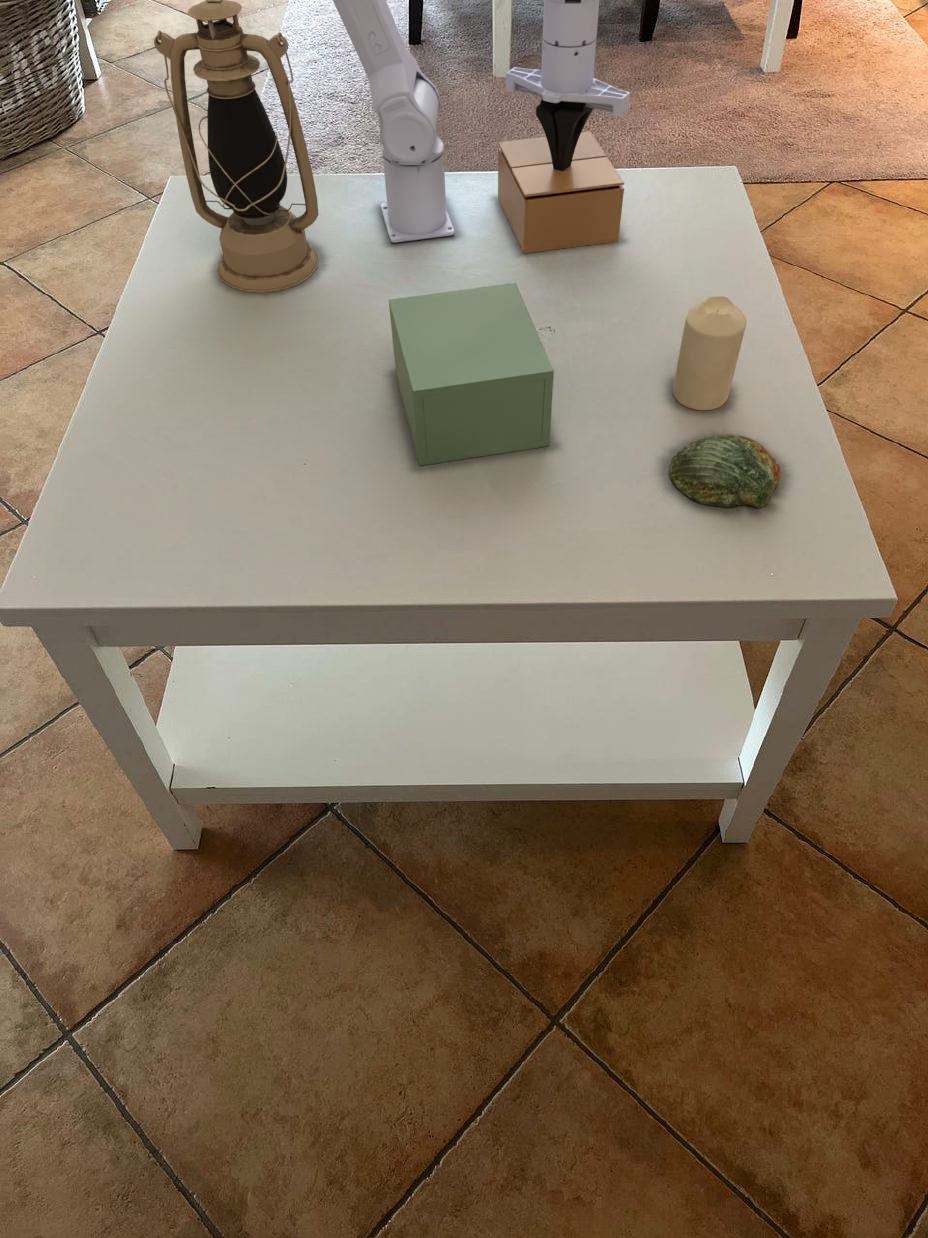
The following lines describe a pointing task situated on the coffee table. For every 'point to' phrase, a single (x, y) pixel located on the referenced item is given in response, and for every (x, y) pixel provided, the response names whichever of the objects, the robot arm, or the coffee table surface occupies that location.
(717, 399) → the candle
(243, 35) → the lantern
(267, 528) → the coffee table surface
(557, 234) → the carton
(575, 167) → the flap
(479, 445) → the cabinet
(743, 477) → the seashell
